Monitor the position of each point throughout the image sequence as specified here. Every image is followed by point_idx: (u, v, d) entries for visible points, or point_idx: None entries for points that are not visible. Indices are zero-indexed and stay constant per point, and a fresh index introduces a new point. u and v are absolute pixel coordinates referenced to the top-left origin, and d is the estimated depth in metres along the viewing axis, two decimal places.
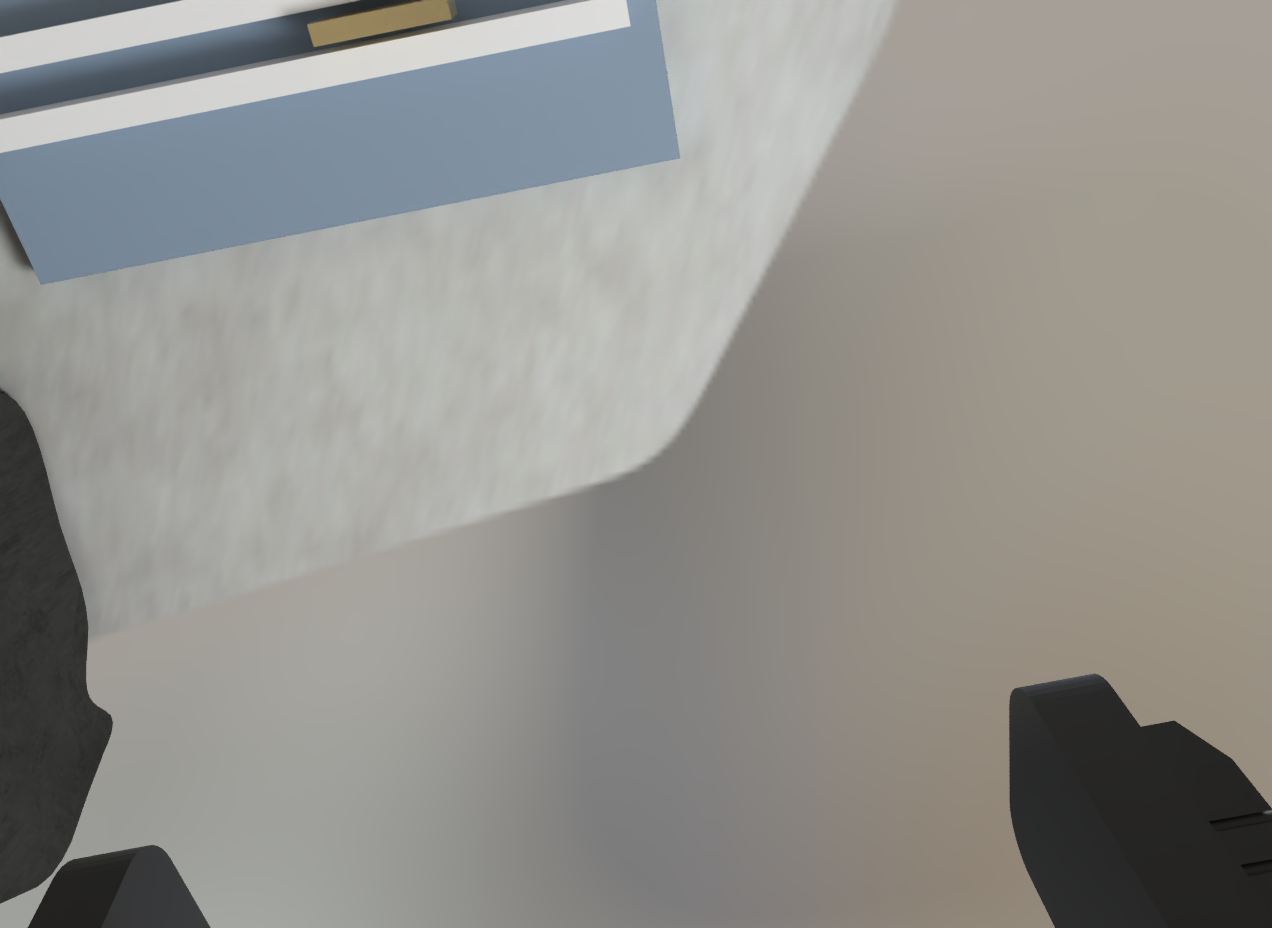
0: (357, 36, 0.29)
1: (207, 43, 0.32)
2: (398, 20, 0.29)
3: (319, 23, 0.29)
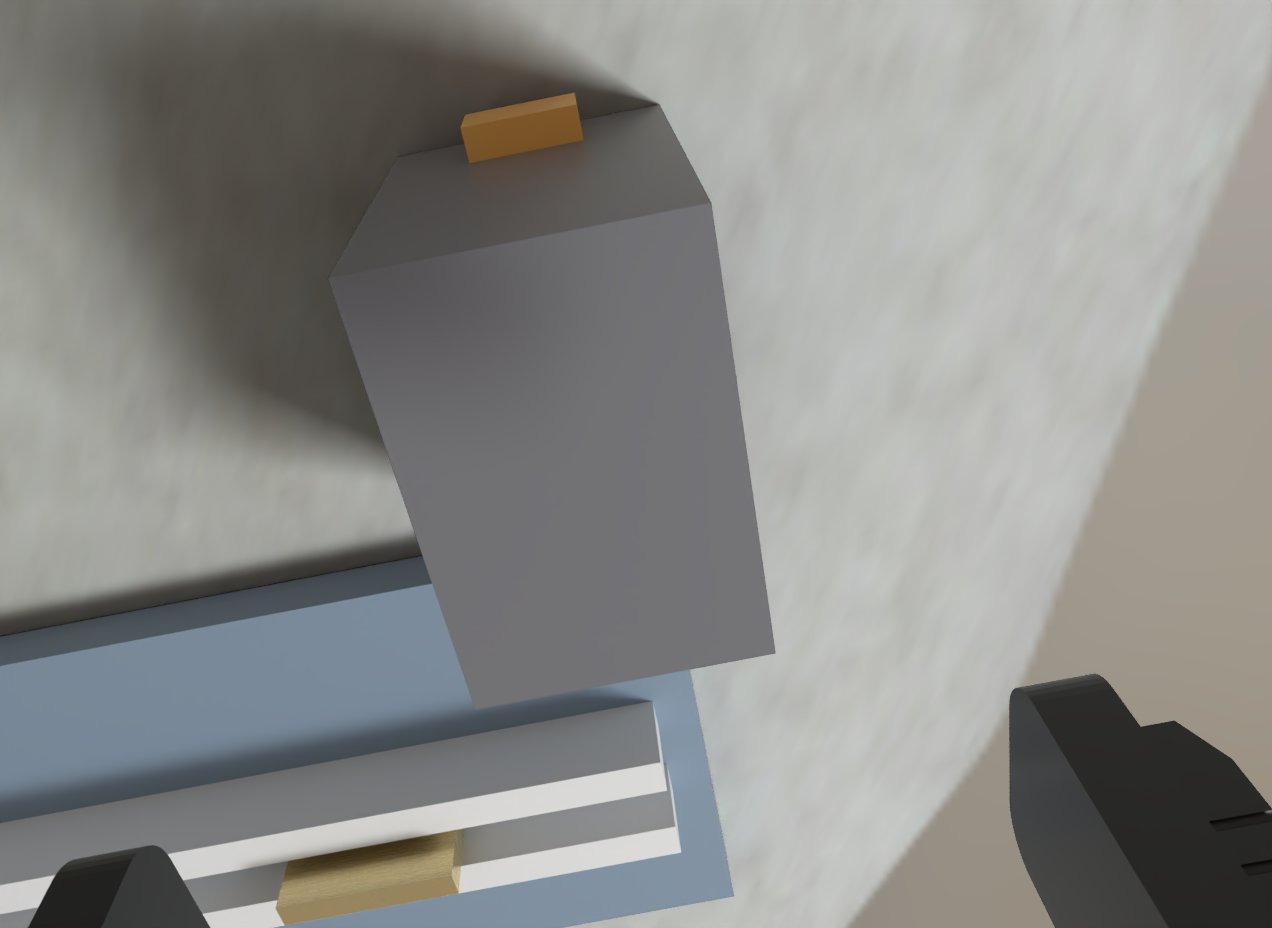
0: (339, 914, 0.23)
1: None
2: (391, 898, 0.23)
3: (291, 905, 0.23)
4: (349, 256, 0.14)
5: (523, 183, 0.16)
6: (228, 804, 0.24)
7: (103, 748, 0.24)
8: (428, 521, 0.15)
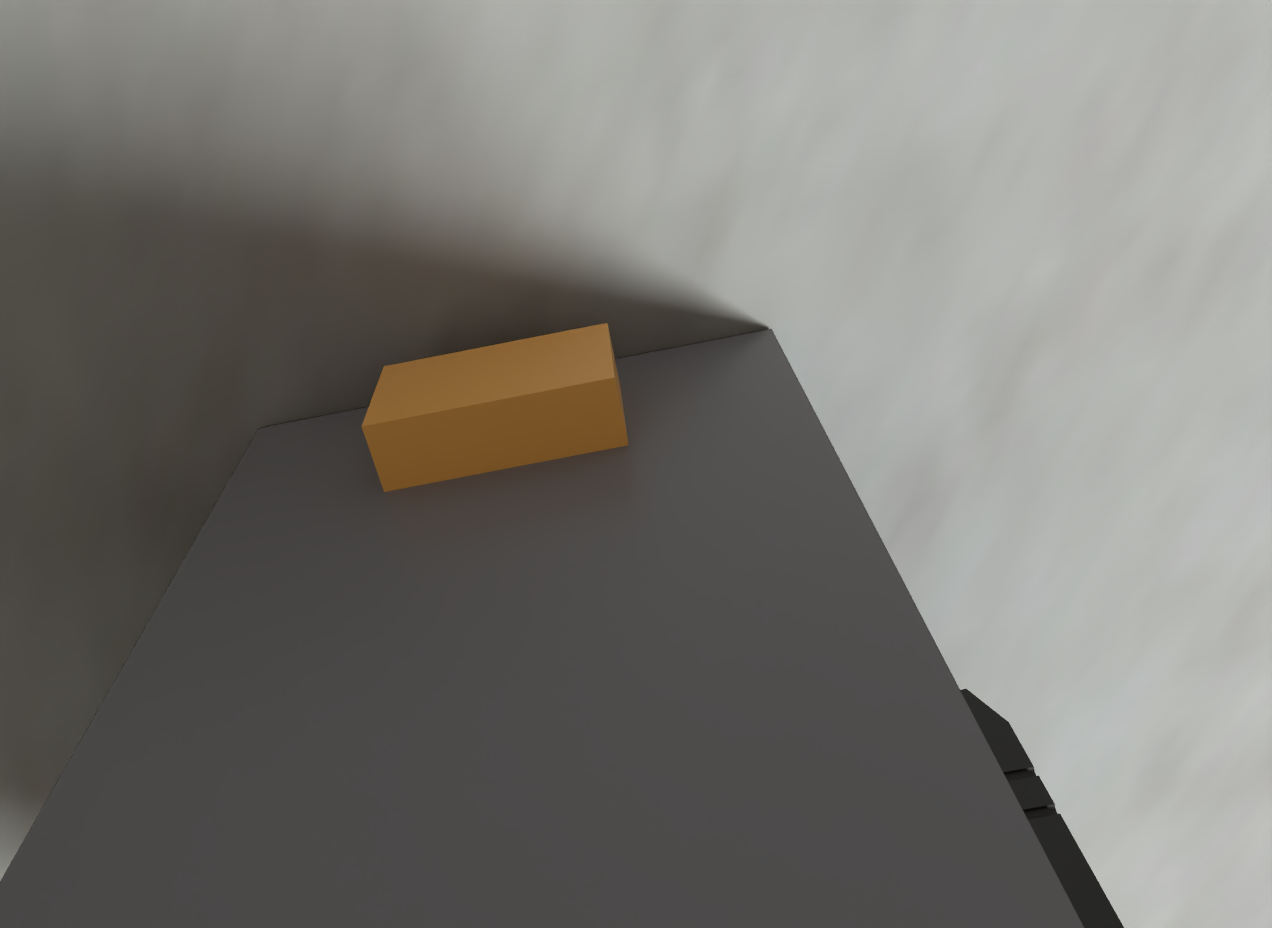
0: None
1: None
2: None
3: None
4: None
5: (490, 642, 0.06)
6: None
7: None
8: None
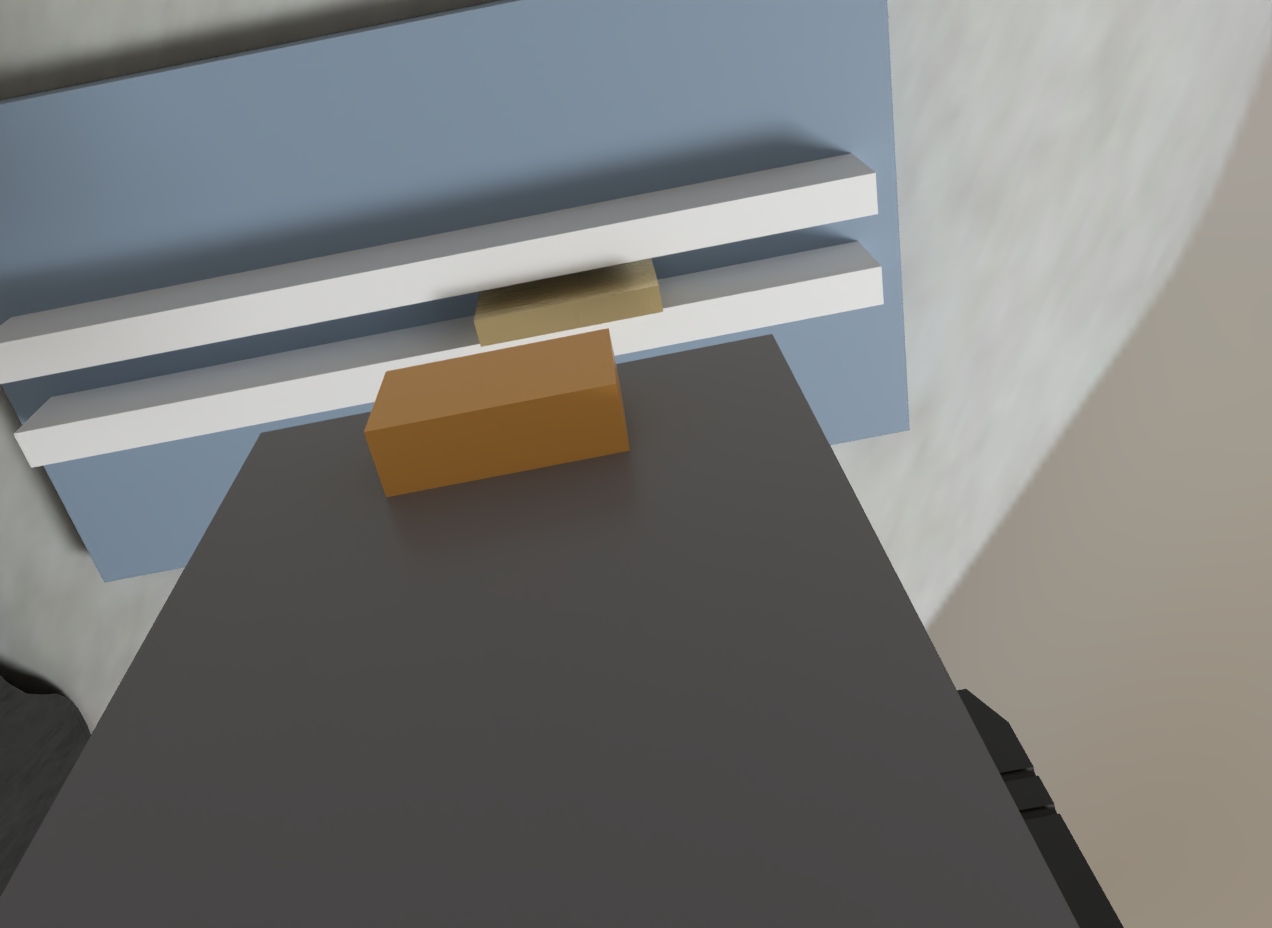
0: (538, 334, 0.22)
1: None
2: (593, 314, 0.22)
3: (490, 319, 0.22)
4: None
5: (493, 649, 0.06)
6: (414, 247, 0.23)
7: (284, 188, 0.23)
8: None
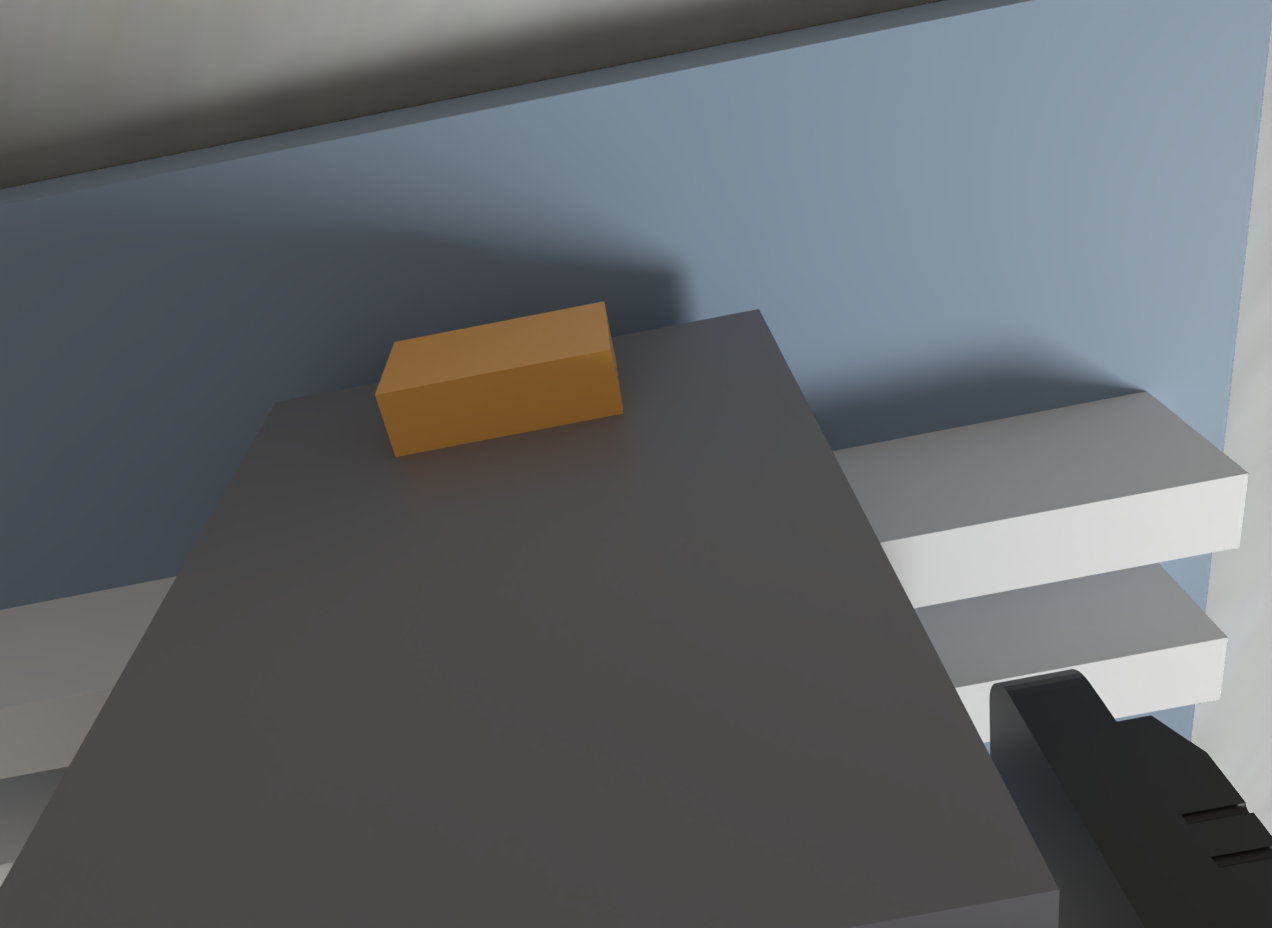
0: None
1: None
2: None
3: None
4: (3, 925, 0.05)
5: (496, 584, 0.07)
6: None
7: (16, 473, 0.11)
8: None
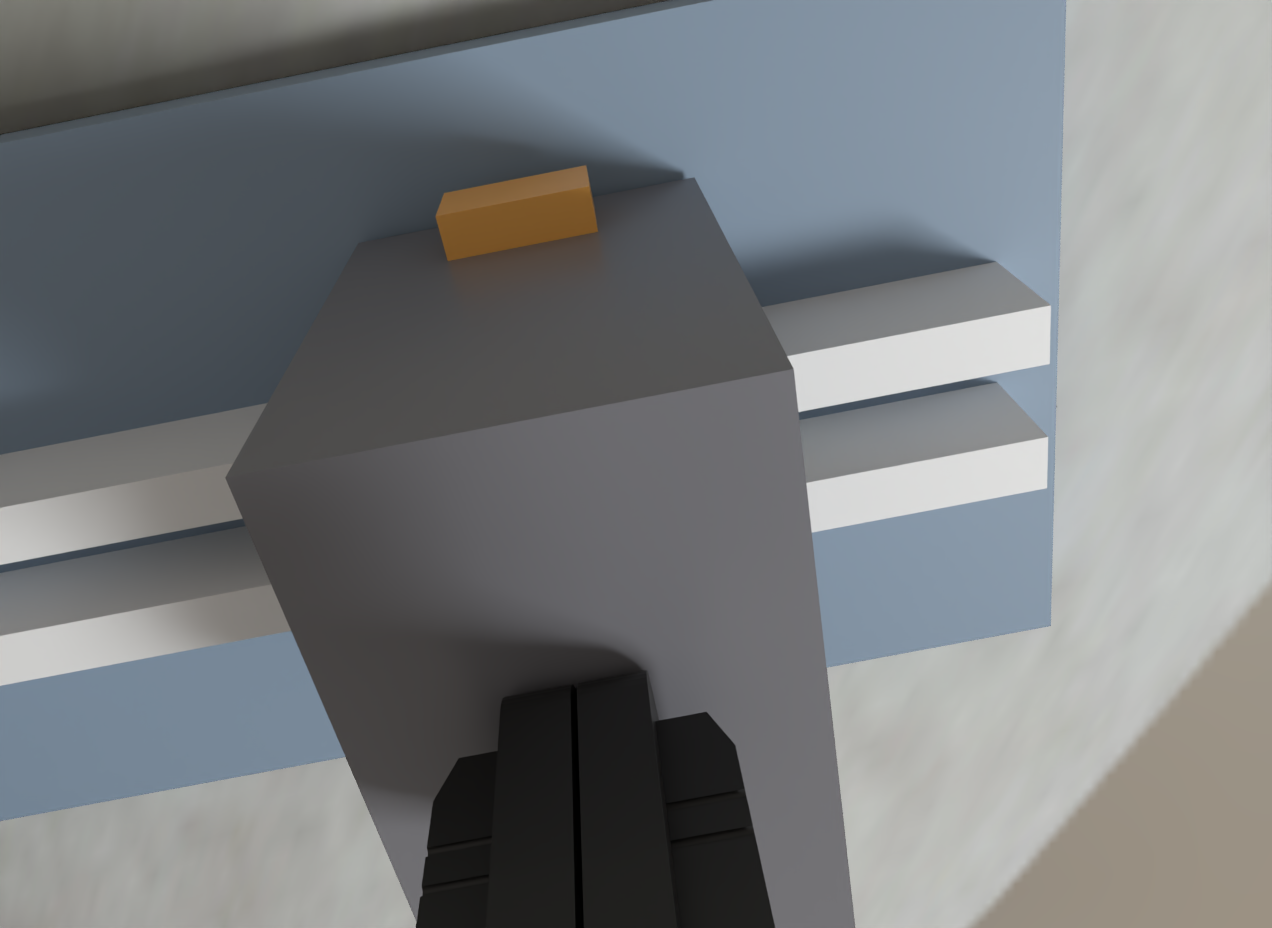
0: None
1: None
2: None
3: None
4: (264, 431, 0.10)
5: (517, 305, 0.11)
6: None
7: (154, 318, 0.16)
8: (382, 784, 0.11)
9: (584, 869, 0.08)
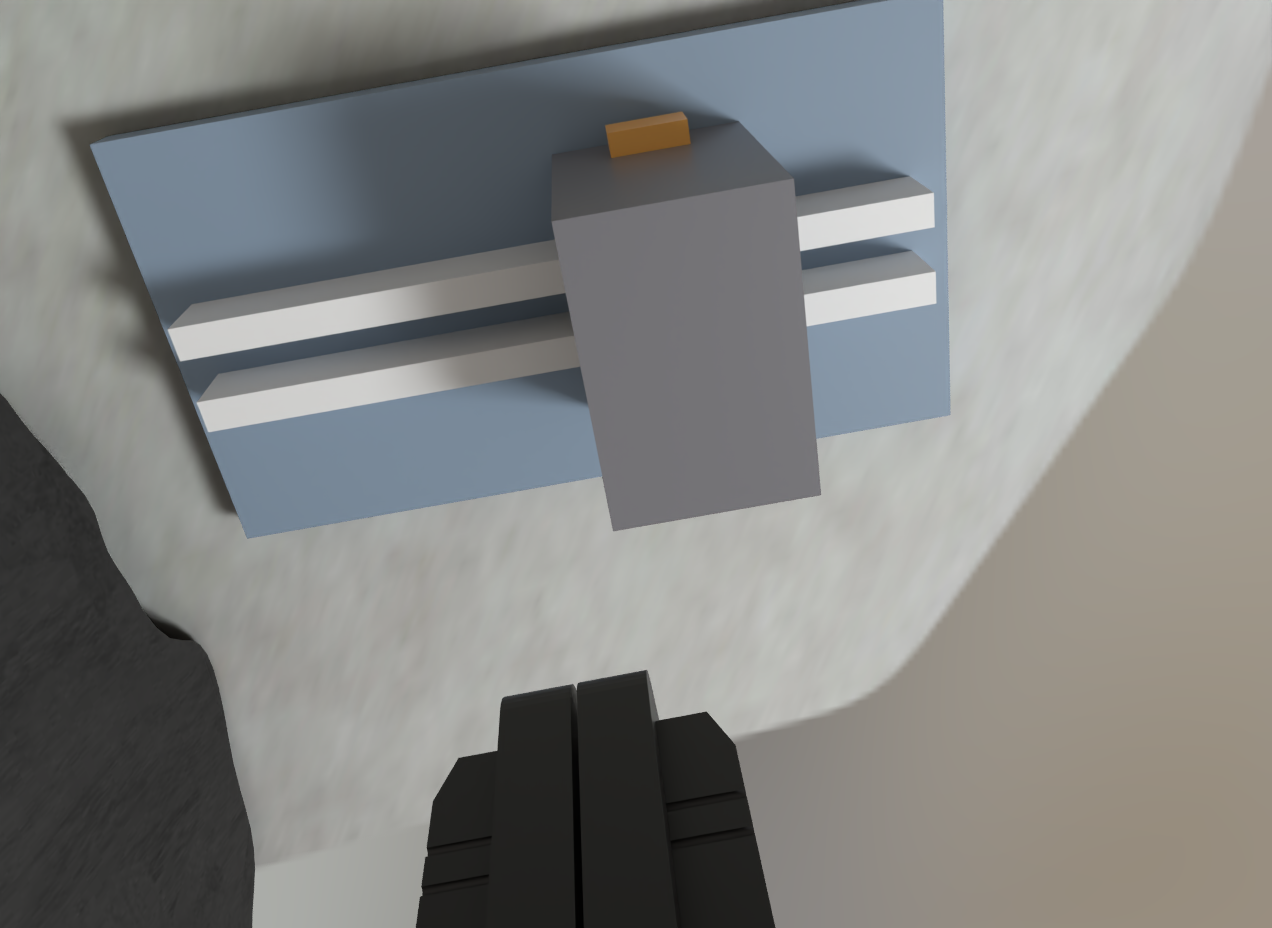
0: None
1: None
2: None
3: None
4: (558, 210, 0.22)
5: (659, 169, 0.23)
6: (540, 250, 0.27)
7: (431, 197, 0.27)
8: (596, 389, 0.23)
9: (584, 869, 0.08)
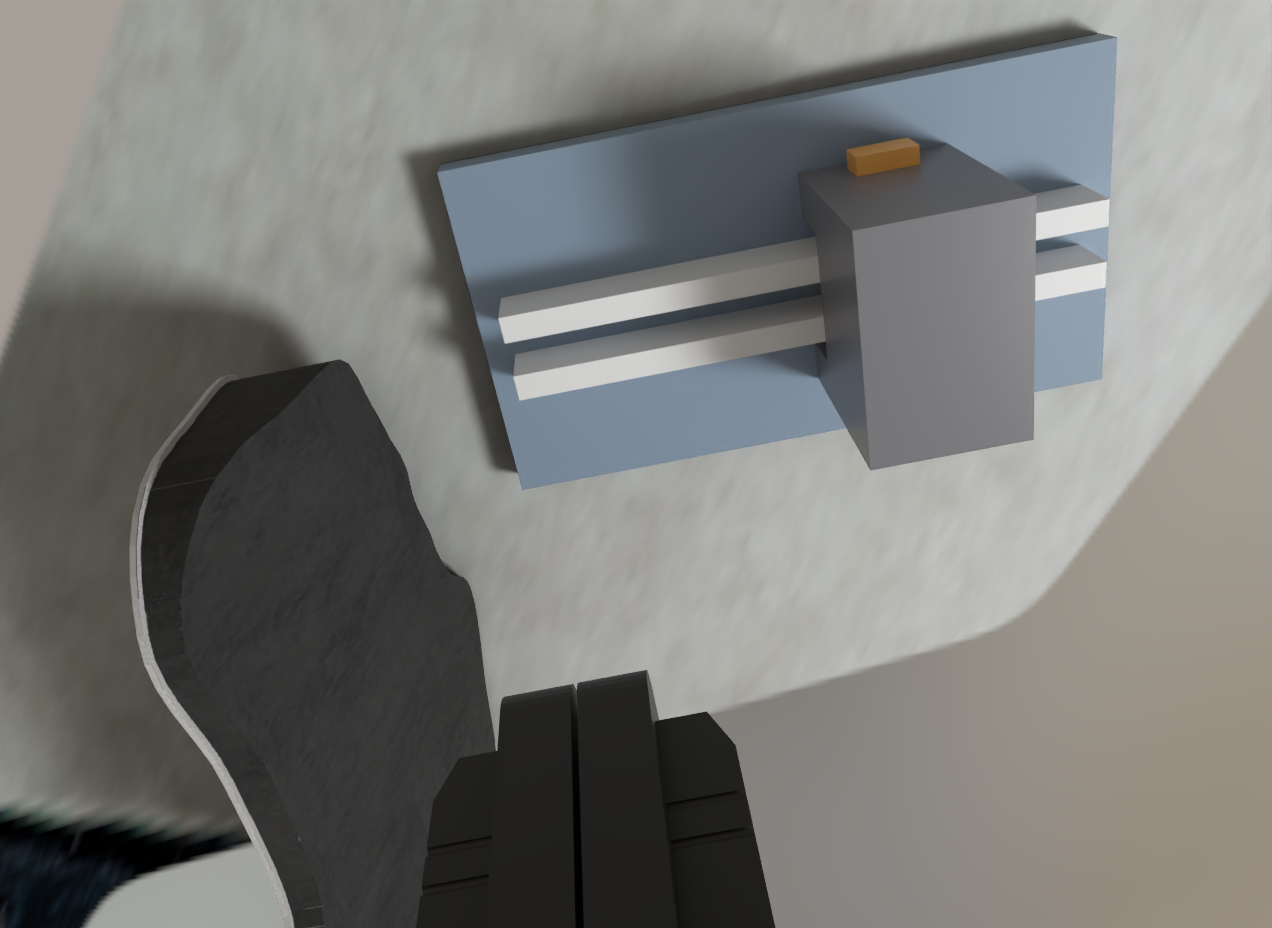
0: None
1: None
2: None
3: None
4: (849, 221, 0.28)
5: (910, 187, 0.30)
6: (787, 249, 0.34)
7: (700, 209, 0.34)
8: (870, 358, 0.29)
9: (583, 869, 0.08)
